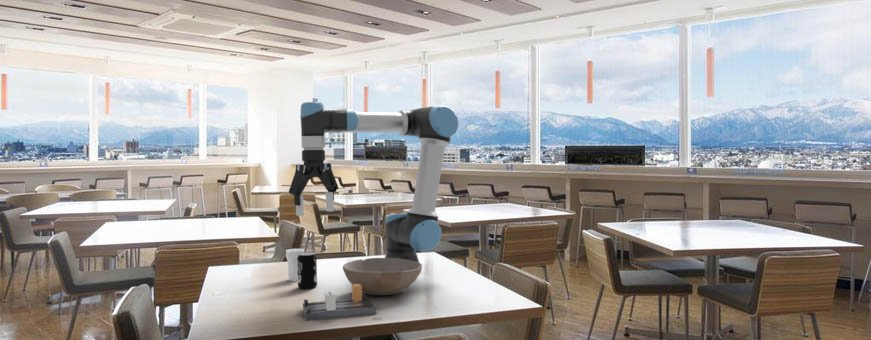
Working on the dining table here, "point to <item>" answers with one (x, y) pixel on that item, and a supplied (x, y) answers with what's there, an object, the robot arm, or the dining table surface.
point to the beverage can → (307, 270)
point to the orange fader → (356, 292)
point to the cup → (293, 263)
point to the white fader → (330, 301)
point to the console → (339, 309)
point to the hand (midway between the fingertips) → (315, 213)
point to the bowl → (382, 274)
